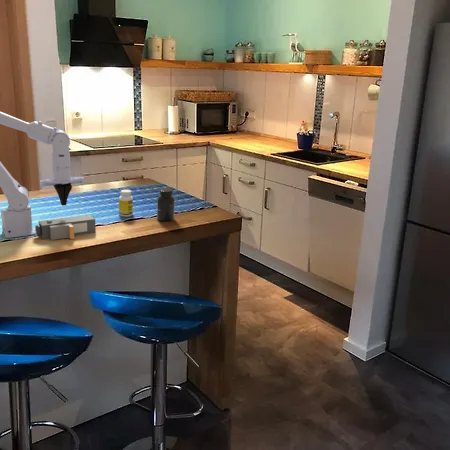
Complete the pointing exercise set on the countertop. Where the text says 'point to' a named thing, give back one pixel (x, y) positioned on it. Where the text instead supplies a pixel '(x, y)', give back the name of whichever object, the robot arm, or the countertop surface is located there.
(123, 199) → the supplement bottle
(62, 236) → the side door
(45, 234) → the gray sliding door box
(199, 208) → the countertop surface
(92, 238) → the countertop surface
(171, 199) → the supplement bottle
